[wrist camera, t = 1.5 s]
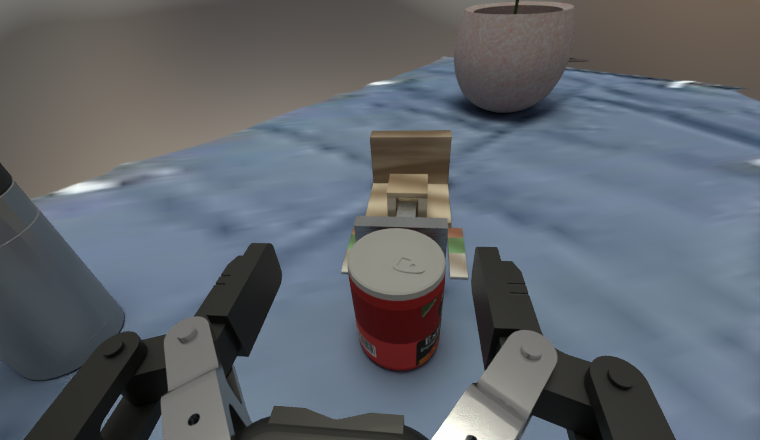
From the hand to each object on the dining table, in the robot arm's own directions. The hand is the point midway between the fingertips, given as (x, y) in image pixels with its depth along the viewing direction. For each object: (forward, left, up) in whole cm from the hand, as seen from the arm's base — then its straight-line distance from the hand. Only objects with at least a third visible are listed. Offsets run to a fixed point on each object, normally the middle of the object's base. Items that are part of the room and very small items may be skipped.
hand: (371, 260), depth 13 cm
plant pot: (0, +77, -21) cm, 80 cm away
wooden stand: (-8, +28, -20) cm, 35 cm away
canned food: (-3, +10, -21) cm, 23 cm away
